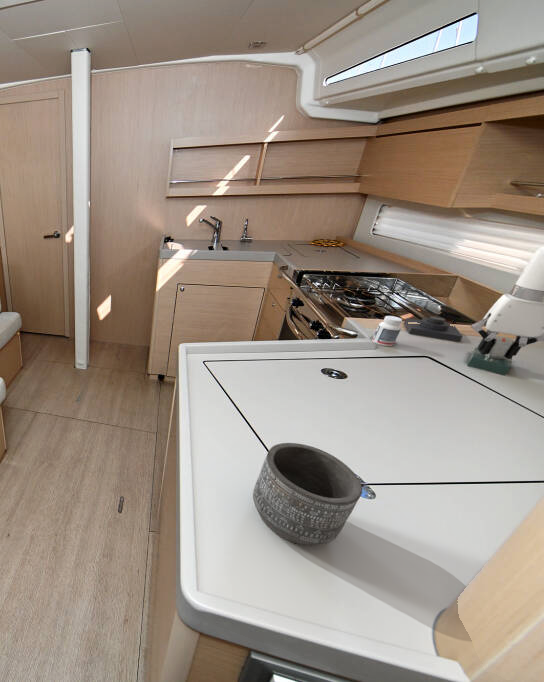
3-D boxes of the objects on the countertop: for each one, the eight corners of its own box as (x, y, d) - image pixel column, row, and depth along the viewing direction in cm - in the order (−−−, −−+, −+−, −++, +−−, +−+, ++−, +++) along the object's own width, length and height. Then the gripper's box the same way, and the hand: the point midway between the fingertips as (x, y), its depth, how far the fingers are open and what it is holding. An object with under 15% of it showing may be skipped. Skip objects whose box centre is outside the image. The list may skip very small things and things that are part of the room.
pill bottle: (397, 346, 114) (410, 321, 109) (381, 346, 114) (393, 321, 110) (382, 338, 118) (394, 314, 114) (367, 339, 118) (378, 315, 114)
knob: (482, 351, 103) (493, 333, 101) (504, 356, 100) (516, 338, 98) (481, 355, 101) (492, 338, 98) (503, 361, 98) (515, 342, 96)
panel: (467, 355, 107) (473, 345, 106) (509, 365, 102) (516, 356, 100) (463, 365, 103) (469, 355, 101) (508, 376, 97) (514, 366, 95)
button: (441, 322, 120) (443, 317, 119) (443, 326, 117) (446, 321, 117) (426, 320, 122) (428, 315, 121) (428, 323, 119) (431, 318, 118)
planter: (258, 547, 57) (281, 493, 51) (240, 487, 68) (257, 436, 62) (346, 566, 54) (381, 511, 48) (313, 500, 65) (339, 448, 59)
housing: (451, 331, 122) (457, 320, 120) (459, 342, 114) (465, 331, 113) (403, 323, 128) (408, 313, 126) (408, 333, 121) (413, 323, 119)
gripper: (578, 295, 90) (534, 356, 99) (481, 285, 99) (448, 342, 108) (594, 304, 85) (546, 368, 93) (490, 292, 94) (454, 352, 102)
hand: (494, 353), depth 100 cm, fingers closed on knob, 4 cm apart
